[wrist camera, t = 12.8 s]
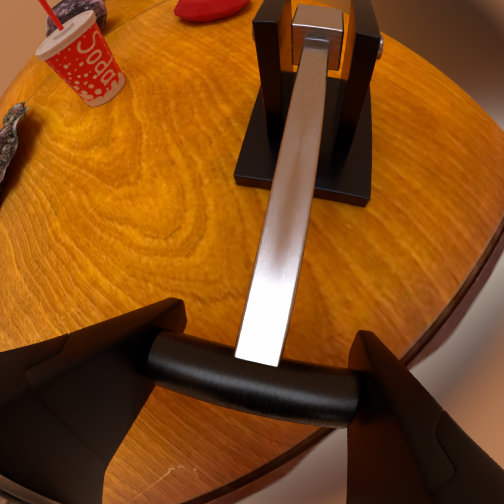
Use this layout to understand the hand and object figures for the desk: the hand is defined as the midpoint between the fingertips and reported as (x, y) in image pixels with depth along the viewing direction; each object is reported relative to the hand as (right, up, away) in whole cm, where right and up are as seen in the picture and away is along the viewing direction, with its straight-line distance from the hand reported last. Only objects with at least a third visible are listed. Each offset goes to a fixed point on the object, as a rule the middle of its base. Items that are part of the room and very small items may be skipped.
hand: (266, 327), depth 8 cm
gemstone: (-5, +31, +16) cm, 35 cm away
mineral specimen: (-26, +35, +19) cm, 47 cm away
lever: (+1, +6, +1) cm, 6 cm away
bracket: (+4, +10, +10) cm, 15 cm away
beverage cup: (-15, +18, +14) cm, 28 cm away
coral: (-31, +13, +15) cm, 37 cm away
